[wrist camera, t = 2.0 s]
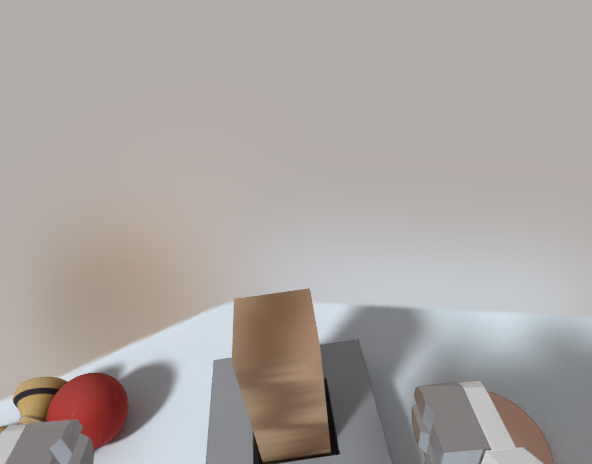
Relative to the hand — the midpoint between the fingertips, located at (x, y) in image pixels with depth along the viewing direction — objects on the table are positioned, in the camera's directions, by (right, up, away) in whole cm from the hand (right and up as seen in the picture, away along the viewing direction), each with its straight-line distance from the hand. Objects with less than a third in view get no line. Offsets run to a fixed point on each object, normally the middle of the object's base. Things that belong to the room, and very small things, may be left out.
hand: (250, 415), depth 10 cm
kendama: (-22, -14, +25) cm, 36 cm away
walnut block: (+1, -12, +23) cm, 26 cm away
